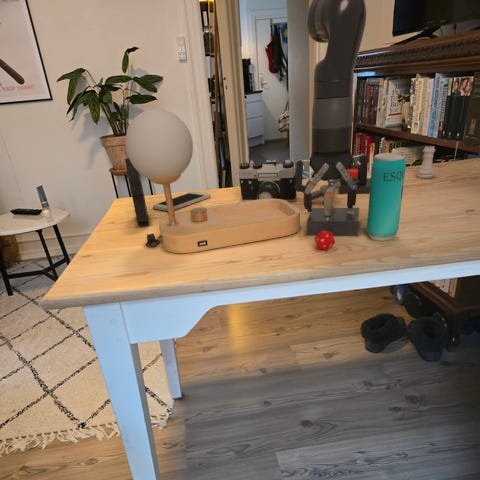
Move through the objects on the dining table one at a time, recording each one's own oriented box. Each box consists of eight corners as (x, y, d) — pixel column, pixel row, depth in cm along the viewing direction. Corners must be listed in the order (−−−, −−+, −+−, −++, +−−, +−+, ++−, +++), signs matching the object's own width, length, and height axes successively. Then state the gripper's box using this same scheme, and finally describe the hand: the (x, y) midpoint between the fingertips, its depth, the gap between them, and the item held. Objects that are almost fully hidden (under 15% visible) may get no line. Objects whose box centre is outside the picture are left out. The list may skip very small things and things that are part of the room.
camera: (235, 212, 106) (229, 175, 99) (245, 193, 114) (240, 157, 107) (290, 213, 102) (288, 174, 95) (298, 193, 109) (296, 156, 103)
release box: (377, 184, 114) (378, 171, 112) (378, 192, 106) (379, 179, 104) (339, 185, 116) (340, 172, 114) (337, 193, 109) (338, 180, 107)
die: (326, 237, 79) (318, 224, 76) (340, 240, 77) (333, 227, 74) (316, 252, 79) (308, 239, 76) (330, 256, 76) (323, 243, 73)
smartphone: (210, 196, 116) (210, 193, 116) (169, 211, 107) (169, 208, 106) (193, 194, 121) (193, 191, 120) (152, 208, 111) (151, 205, 111)
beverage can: (402, 240, 77) (412, 156, 70) (372, 243, 77) (379, 160, 69) (390, 230, 82) (398, 151, 75) (362, 233, 82) (367, 154, 74)
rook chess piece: (436, 175, 116) (441, 145, 112) (429, 179, 114) (434, 148, 109) (420, 174, 119) (424, 145, 115) (414, 177, 116) (418, 147, 112)
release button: (358, 175, 111) (359, 168, 110) (358, 178, 108) (358, 171, 107) (345, 175, 112) (345, 169, 111) (344, 179, 109) (344, 172, 108)
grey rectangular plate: (327, 208, 88) (328, 185, 86) (334, 208, 88) (335, 185, 86) (323, 216, 84) (324, 193, 81) (330, 216, 83) (331, 193, 81)
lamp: (280, 211, 99) (276, 93, 86) (308, 233, 85) (308, 95, 72) (143, 233, 94) (117, 110, 80) (148, 261, 79) (117, 116, 66)
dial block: (358, 219, 90) (359, 204, 88) (357, 235, 81) (358, 220, 80) (307, 218, 93) (307, 205, 91) (301, 235, 84) (301, 220, 83)
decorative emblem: (149, 227, 97) (135, 161, 89) (139, 229, 97) (124, 162, 89) (148, 214, 107) (135, 153, 99) (138, 215, 107) (125, 154, 99)
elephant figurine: (306, 197, 109) (339, 183, 106) (313, 217, 107) (346, 203, 105) (298, 180, 99) (334, 164, 97) (305, 201, 98) (342, 185, 95)
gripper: (365, 118, 80) (359, 201, 88) (292, 125, 81) (293, 207, 89) (375, 122, 74) (368, 212, 82) (296, 129, 74) (297, 217, 83)
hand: (329, 209), depth 86 cm, fingers open, 8 cm apart
